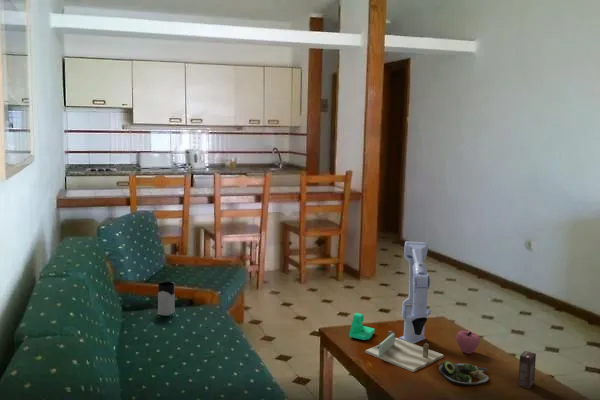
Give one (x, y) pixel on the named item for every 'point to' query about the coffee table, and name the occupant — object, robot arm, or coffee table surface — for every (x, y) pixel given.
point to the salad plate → (462, 373)
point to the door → (386, 344)
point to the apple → (467, 341)
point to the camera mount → (360, 328)
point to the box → (527, 369)
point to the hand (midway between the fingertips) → (417, 334)
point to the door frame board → (407, 354)
